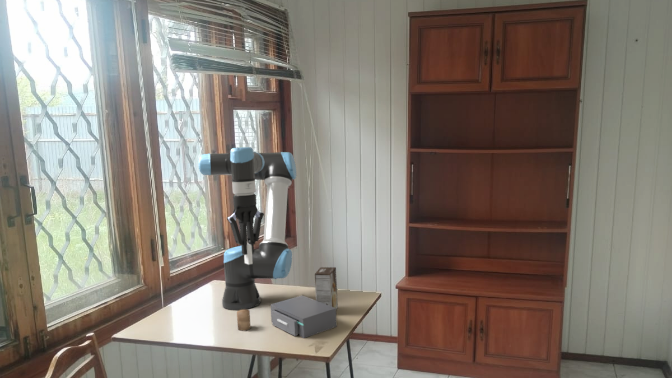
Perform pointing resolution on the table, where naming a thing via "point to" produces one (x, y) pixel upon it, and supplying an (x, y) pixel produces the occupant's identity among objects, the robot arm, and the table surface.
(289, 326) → the grey drawer
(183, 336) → the table surface
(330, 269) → the coffee box
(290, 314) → the housing
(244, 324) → the brown rounded peg
